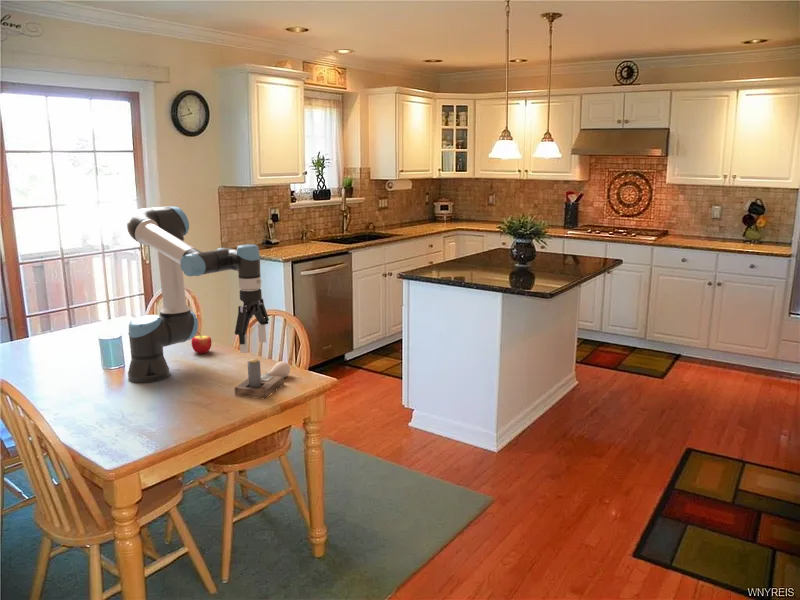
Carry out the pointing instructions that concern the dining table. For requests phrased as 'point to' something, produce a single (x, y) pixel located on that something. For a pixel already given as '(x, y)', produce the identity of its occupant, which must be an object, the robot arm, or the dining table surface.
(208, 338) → the apple
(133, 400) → the dining table surface
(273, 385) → the wooden socket board
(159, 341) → the robot arm
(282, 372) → the light bulb
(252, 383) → the plug
